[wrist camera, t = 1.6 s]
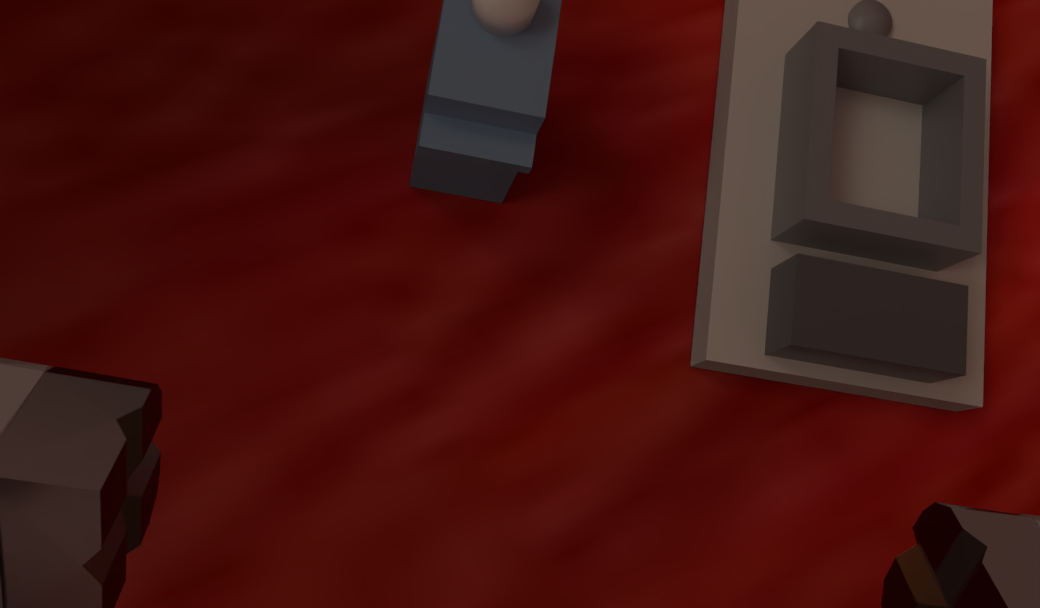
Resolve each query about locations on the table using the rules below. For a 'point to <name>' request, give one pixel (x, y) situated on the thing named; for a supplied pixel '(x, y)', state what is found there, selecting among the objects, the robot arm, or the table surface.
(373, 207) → the table surface
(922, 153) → the chassis
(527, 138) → the block
